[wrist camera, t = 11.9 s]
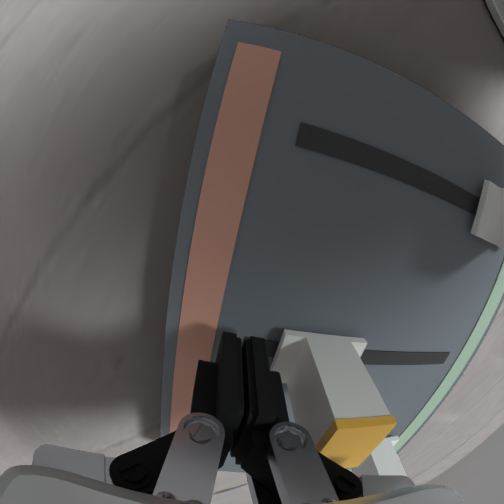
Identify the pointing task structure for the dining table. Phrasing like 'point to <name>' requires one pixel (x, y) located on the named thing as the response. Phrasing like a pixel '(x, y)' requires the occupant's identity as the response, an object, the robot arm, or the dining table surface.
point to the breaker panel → (332, 223)
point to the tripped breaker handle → (333, 394)
